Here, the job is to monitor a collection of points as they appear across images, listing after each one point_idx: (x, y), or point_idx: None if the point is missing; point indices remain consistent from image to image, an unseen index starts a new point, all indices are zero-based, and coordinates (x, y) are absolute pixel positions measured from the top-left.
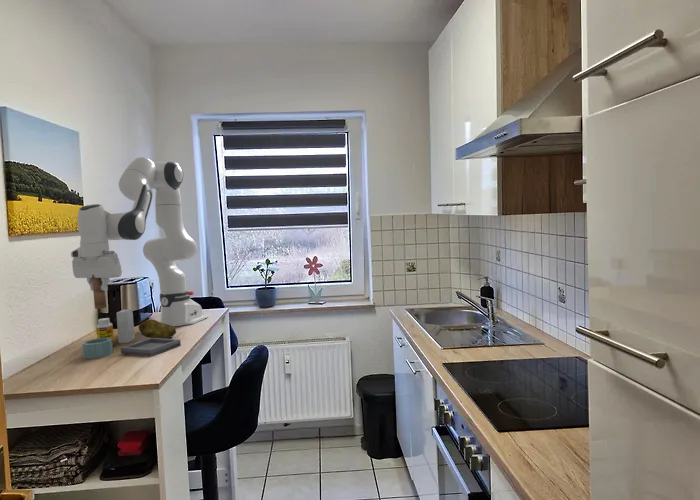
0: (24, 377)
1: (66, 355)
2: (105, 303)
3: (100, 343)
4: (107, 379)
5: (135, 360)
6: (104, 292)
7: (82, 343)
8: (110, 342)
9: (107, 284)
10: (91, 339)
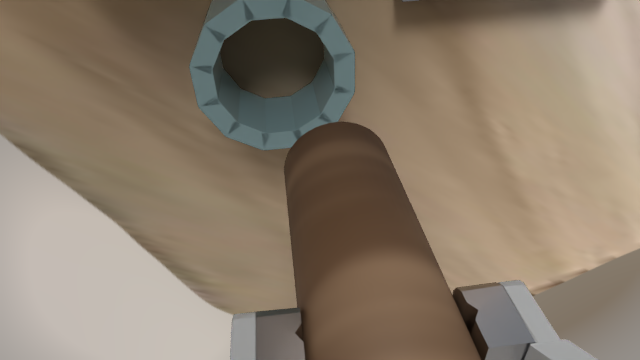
0: (281, 298)
1: (97, 108)
2: (394, 168)
3: (347, 102)
4: (584, 224)
5: (555, 54)
6: (433, 256)
7: (242, 140)
8: (341, 29)
9: (576, 350)
10: (191, 62)
